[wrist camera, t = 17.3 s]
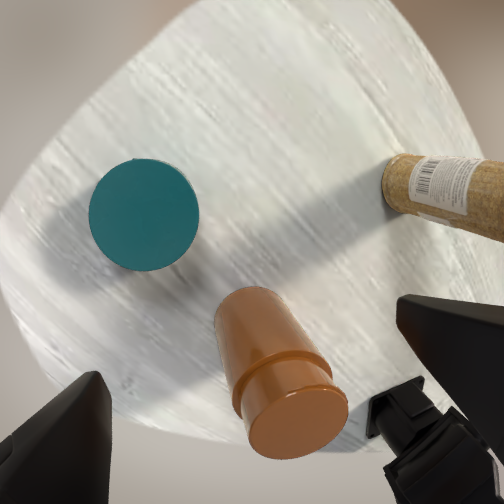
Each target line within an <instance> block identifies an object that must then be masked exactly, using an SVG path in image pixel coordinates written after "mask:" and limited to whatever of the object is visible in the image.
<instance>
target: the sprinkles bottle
mask: <svg viewBox="0 0 504 504" xmlns="http://www.w3.org/2000/svg"><path fill="white" fill-rule="evenodd" d="M382 189H383V193H384V197H385V200H386V202H387V203H388V204H389V206H390V207H392V208H393V209H394V210H396V211H398V212H400V213H404V214H408V213H409V214H413V215H416V216H420V217H422V218H424V219H427V220H429V221H433V222H436V223H439V224H443V225H446V226H449V227H453V228H460V229H463V230H466V231H469V232H472V233H475V234H478V235H481V236H484V237H487V238H490V239H493V240H496V241H499V242H502V243H504V163H503V162H496V161H492V160H487V159H476V158H465V157H451V156H435V155H431V156H414V155H412V154H399V155H397V156H395V157H394V158H392V159H391V160H390V162H389V163H388V164H387V166H386V168H385V170H384V174H383V178H382Z"/></svg>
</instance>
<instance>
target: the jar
mask: <svg viewBox="0 0 504 504" xmlns="http://www.w3.org/2000/svg"><path fill="white" fill-rule="evenodd" d="M214 327H215V332H216V337H217V341H218V346H219V350H220V355H221V359H222V363H223V368H224V372H225V376H226V380H227V385H228V389H229V393H230V397H231V401H232V405H233V408H234V410H235V412H236V414H237V415H238V416H239V417H240V418H241V419H242V420H243V422H244V425H245V429H246V432H247V436H248V439H249V442H250V445H251V446H252V448H253V449H254V450H255V451H256V452H257V453H259V454H260V455H262V456H264V457H267V458H271V459H281V460H282V459H293V458H298V457H302V456H305V455H308V454H310V453H313V452H315V451H317V450H319V449H321V448H322V447H324V446H325V445H327V444H328V443H329V442H331V441H332V440H333V439H334V438H335V437H336V436H337V435H338V434H339V432H340V431H341V430H342V428H343V427H344V425H345V423H346V421H347V417H348V400H347V398H346V395H345V393H344V392H343V391H342V390H341V389H340V388H339V387H338V386H337V387H336V385H335V384H334V382H333V381H332V371H331V368H330V366H329V364H328V363H327V361H326V360H325V359H324V357H323V356H322V354H321V353H320V352H319V350H318V349H317V348H316V346H315V345H314V343H313V342H312V341H311V339H310V338H309V336H308V335H307V334H306V332H305V331H304V330H303V328H302V327H301V325H300V324H299V323H298V321H297V320H296V318H295V317H294V316H293V314H292V313H291V311H290V310H289V309H288V307H287V306H286V305H285V303H284V302H283V300H282V299H281V298H280V297H279V296H278V295H277V294H276V293H274V292H273V291H271V290H269V289H266V288H262V287H247V288H243V289H240V290H237V291H235V292H233V293H232V294H230V295H229V296H228V297H226V298H225V299H224V300H223V302H222V303H221V304H220V306H219V307H218V309H217V311H216V314H215V319H214Z"/></svg>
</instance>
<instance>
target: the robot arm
mask: <svg viewBox="0 0 504 504" xmlns="http://www.w3.org/2000/svg"><path fill="white" fill-rule="evenodd" d="M396 324H397V327H398V329H399V331H400V332H401V334H402V335H403V336H404V338H405V339H406V341H407V342H408V344H409V345H410V347H411V348H412V350H413V351H414V353H415V354H416V356H417V357H418V358H419V360H420V361H421V362H422V364H423V365H424V366H425V367H426V369H427V370H428V371H429V372H430V373H431V375H432V376H433V377H434V378H435V379H436V380H437V382H438V383H439V384H440V385H441V387H442V388H443V389H444V390H445V391H446V393H447V394H448V395H449V396H450V397H451V399H452V400H453V401H454V402H455V404H456V405H457V406H458V407H459V409H460V410H461V411H462V412H463V414H464V415H465V416H466V417H467V419H468V420H467V419H466V418H465V417H464V416H463V415H462V414H461V413H460V412H459V411H457V410H456V409H455V408H454V407H453V406H451V407H450V408H449V409H448V411H447V412H446V413H445V414H444V415H443V414H442V413H441V412H440V411H439V410H438V409H437V408H436V407H435V406H434V403H433V402H432V401H431V400H430V399H429V398H428V397H427V396H426V395H425V394H424V393H423V392H422V390H423V385H424V380H425V378H424V377H423V376H418V377H416V378H414V379H412V380H410V381H408V382H406V383H404V384H401V385H399V386H397V387H395V388H392V389H390V390H388V391H386V392H383V393H381V394H379V395H376V396H374V397H373V398H371V400H370V407H369V417H368V426H367V434H366V436H367V437H368V439H371V438H374V437H376V436H378V435H380V434H381V436H382V437H383V438H384V440H385V441H386V443H387V444H388V445H389V447H390V448H391V449H392V451H393V452H394V453H395V455H396V456H397V458H396V459H395V460H393V461H392V462H391V463H389V464H388V465H386V466H384V467H383V470H384V472H385V477H386V478H387V480H388V482H389V484H390V486H391V488H392V490H393V492H394V496H395V499H396V503H397V504H504V499H503V498H502V497H501V496H500V485H499V473H498V466H497V464H496V462H495V460H494V458H493V457H492V456H491V455H490V454H489V453H488V452H487V450H488V449H489V448H491V449H492V451H493V452H494V453H495V455H496V456H497V458H498V459H499V460H500V462H501V463H502V464H503V466H504V306H497V305H489V304H481V303H473V302H465V301H457V300H450V299H442V298H435V297H427V296H420V295H413V294H407V295H405V296H402V297H399V298H398V300H397V307H396ZM111 451H112V398H111V394H110V392H109V390H108V388H107V386H106V384H105V382H104V379H103V377H102V375H101V374H100V373H99V372H98V371H91V372H85V373H84V374H83V375H81V376H80V377H79V378H78V379H77V380H75V381H74V382H73V383H72V384H71V385H69V386H68V387H67V388H66V389H64V390H63V391H62V392H61V393H60V394H58V395H57V396H56V397H55V398H54V399H52V400H51V401H50V402H49V403H48V404H46V405H45V406H44V407H43V408H42V409H40V410H39V411H38V412H37V413H36V414H34V415H33V416H32V417H31V418H30V419H28V420H27V421H26V422H25V423H24V424H22V425H21V426H20V427H19V428H18V429H17V430H15V431H14V432H13V433H12V435H9V436H8V437H7V438H6V439H4V440H3V441H2V442H1V443H0V504H108V499H109V497H108V496H109V479H110V464H111Z"/></svg>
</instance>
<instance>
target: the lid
mask: <svg viewBox="0 0 504 504" xmlns="http://www.w3.org/2000/svg"><path fill="white" fill-rule="evenodd" d="M198 223H199V208H198V202H197V198H196V195H195V193H194V190H193V187H192V185H191V184H190V182H189V180H188V179H187V178H186V176H185V175H184V174H183V173H182V172H181V171H180V170H178V169H177V168H176V167H174V166H172V165H171V164H169V163H166V162H163V161H160V160H153V159H132V160H130V161H127V162H124V163H122V164H120V165H118V166H116V167H115V168H113V169H111V170H110V171H109V172H108V173H107V174H106V175H105V176H104V177H103V178H102V179H101V180H100V182H99V183H98V185H97V186H96V188H95V190H94V192H93V195H92V198H91V201H90V206H89V224H90V229H91V232H92V235H93V238H94V240H95V242H96V244H97V245H98V247H99V248H100V250H101V251H102V252H103V253H104V254H105V255H106V256H107V257H108V258H109V259H110V260H112V261H113V262H114V263H116V264H118V265H120V266H122V267H124V268H127V269H131V270H135V271H152V270H157V269H161V268H163V267H166V266H168V265H170V264H172V263H173V262H175V261H176V260H178V259H179V258H180V257H181V256H182V255H183V254H184V253H185V252H186V251H187V249H188V248H189V247H190V245H191V243H192V242H193V240H194V237H195V235H196V232H197V228H198Z"/></svg>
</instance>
